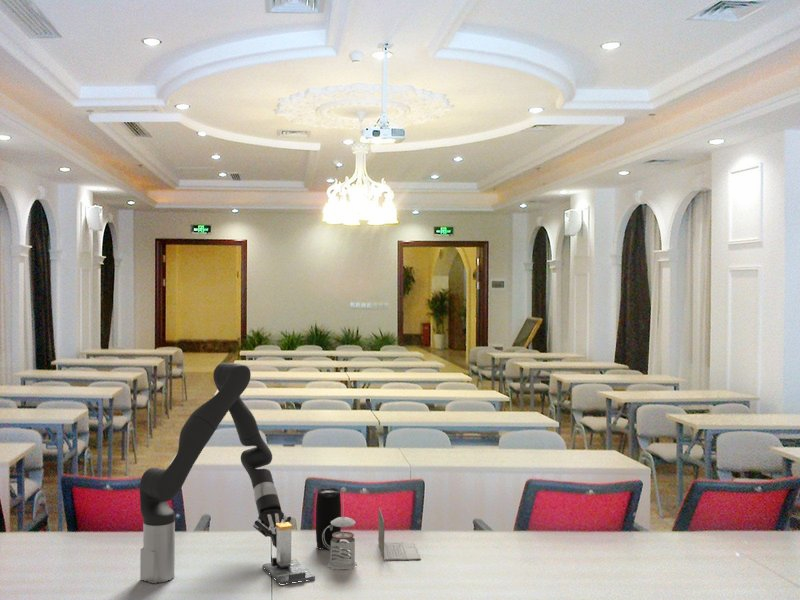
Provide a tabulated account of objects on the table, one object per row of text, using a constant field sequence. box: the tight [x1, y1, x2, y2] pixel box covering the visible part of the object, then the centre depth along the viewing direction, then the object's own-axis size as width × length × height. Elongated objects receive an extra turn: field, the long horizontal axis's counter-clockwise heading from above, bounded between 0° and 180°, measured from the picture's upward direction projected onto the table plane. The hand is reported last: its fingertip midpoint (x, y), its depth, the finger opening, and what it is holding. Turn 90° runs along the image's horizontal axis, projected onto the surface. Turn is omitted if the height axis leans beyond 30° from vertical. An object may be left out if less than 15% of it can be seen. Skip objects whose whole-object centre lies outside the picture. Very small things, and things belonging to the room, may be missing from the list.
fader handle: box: [276, 522, 293, 568], centre depth 262 cm, size 4×4×13 cm
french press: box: [322, 487, 358, 570], centre depth 267 cm, size 10×12×25 cm
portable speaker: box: [315, 487, 342, 550], centre depth 285 cm, size 9×9×20 cm
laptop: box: [377, 507, 421, 562], centre depth 281 cm, size 18×12×13 cm
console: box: [262, 557, 316, 584], centre depth 259 cm, size 17×11×3 cm, turn 27°
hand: (278, 546), depth 267 cm, fingers closed
